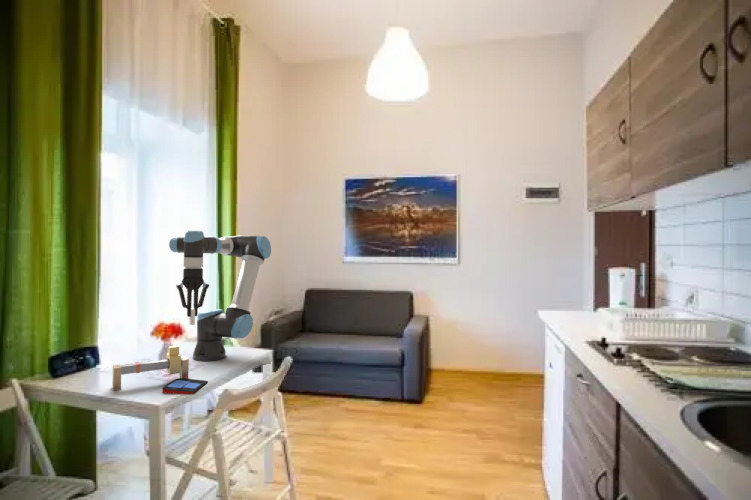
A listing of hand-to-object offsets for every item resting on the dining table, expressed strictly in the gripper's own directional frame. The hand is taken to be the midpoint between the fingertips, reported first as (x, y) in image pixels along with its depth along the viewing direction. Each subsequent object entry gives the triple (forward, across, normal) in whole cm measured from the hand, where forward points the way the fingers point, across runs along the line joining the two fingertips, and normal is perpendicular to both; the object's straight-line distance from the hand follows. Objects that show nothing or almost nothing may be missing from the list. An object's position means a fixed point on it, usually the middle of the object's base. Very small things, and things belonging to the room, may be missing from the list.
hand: (192, 324), depth 182 cm
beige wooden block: (+19, +7, 0) cm, 20 cm away
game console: (+23, +5, +12) cm, 26 cm away
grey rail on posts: (+22, +15, 0) cm, 27 cm away
